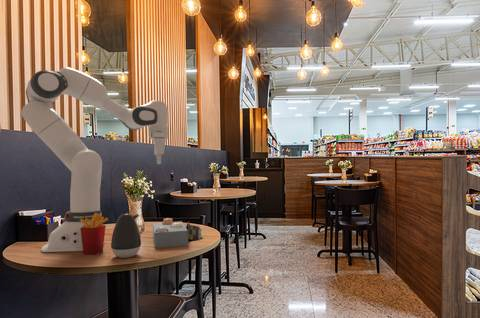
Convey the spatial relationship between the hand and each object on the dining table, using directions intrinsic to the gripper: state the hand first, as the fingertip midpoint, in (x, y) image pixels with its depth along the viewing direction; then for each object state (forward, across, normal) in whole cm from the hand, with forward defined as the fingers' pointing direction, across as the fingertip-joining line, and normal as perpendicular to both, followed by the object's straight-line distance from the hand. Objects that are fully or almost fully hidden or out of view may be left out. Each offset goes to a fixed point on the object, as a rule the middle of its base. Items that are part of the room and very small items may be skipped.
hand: (158, 164), depth 158 cm
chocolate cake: (+34, +15, +14) cm, 39 cm away
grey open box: (+33, +16, +3) cm, 37 cm away
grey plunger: (+31, +24, 0) cm, 39 cm away
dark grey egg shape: (+33, +36, -13) cm, 51 cm away
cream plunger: (+31, +17, +6) cm, 36 cm away
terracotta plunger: (+30, +8, +3) cm, 31 cm away
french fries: (+33, +27, -24) cm, 49 cm away
